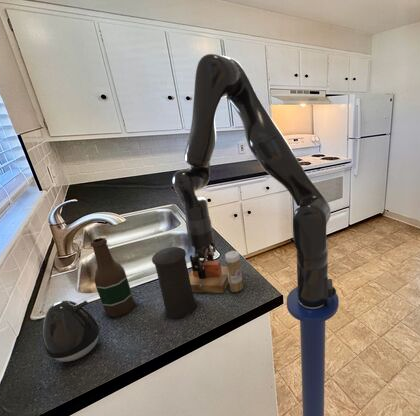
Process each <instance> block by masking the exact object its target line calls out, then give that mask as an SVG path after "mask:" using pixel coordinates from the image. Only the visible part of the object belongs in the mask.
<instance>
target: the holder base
mask: <svg viewBox="0 0 420 416" xmlns="http://www.w3.org/2000/svg"><path fill="white" fill-rule="evenodd" d="M221 271H222V273H221V275H220V277H206V278H205V279H199V277H194V276H193V271H192V270H191V271H190V272H188V274H189V278H190V283H191V287H192V292H193V293H211V294H212V293H215V294H217V293H219V294H223V293H224V292H225V290H226V288H227V286H228V285H229V280H228V273H227V265H226V266H224V265H221Z"/></svg>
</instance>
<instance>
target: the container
mask: <svg viewBox="0 0 420 416" xmlns="http://www.w3.org/2000/svg"><path fill="white" fill-rule="evenodd" d="M186 256H187V252H186V250H185V249H184V248H182V247H179V246H169V247H165V248H163V249H160V250H158V251H157V252H156V253H154V254H153V256H152V257H151V262H152V264H153V265H154V267H155V270H156V274H157V279H158V283H159V288H160V293H161V298H162V301H163V305H164V310H165V314H166V316H167V317H168V318H171V319H180V318H183V317H186V316H188V315H189V314H190V313H191V312H192V311H193V310H194V308H195V306H196V300H195V296H194V292H192V287H191V283H190V278H189V269H188V264H187V259H186Z"/></svg>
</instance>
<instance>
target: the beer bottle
mask: <svg viewBox="0 0 420 416" xmlns="http://www.w3.org/2000/svg"><path fill="white" fill-rule="evenodd" d="M90 247H91V248H92V249H93V252H94V253H93V254H94V256H95V257H94V258H95V260H96V261H95V262H96V266H97V267H96V269H95V271H94V285H95V288H96V291H97V294H98V296H99V299H100V301H101V304H102V307H103V310H104V312H105V314H106V317H112V318H118V317H121V316H124V315H126V314H128V313H130V312H131V310H133V309H134V308H135V301H134V300H135V299H134V296H133V292H132V288H131V286H130V283H129V280H128V277H127V273H126V270H125V268H124V267H123V265H121V263H118V262H117V261H116V260H115V259H114V257H113V256H112V253H111V251H110V248H109V246H108V240H107V238H105V237H98V238H95V239H92V240H91V242H90Z"/></svg>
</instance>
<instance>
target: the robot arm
mask: <svg viewBox="0 0 420 416" xmlns="http://www.w3.org/2000/svg"><path fill="white" fill-rule="evenodd" d="M194 77H195V78H194V92H193V104H192V115H191V117H192V118H191V125H190V130H189V135H188V139H187V142H186V145H185V151H184V155H183V158H184V160H185V162H186V163H187V164H188V165H190V167H187V168H184V169H181V170H177V171H176V172H175V173H174V174H173V176H172V181H171V183H172V187H173V189H174V191H175V194H176V195H177V197H178V200H179V201H180V203H181V205H182V208H183V213H184V218H185V228H186V232H187V238H188V242H189V243H188V244H189V245H190V246H192V247H193V248H194V254H191V255H189V260H190V261H189V262H190V266H191V265H192V266H191V270H192V269H193V271H198V276H199V279H205V278H206V273H205V269H204V267H205V262H206V261H215V260H214V257H215V253H217V252H216V251H217V247H216V241H215V237H214V233H213V226H212V220H211V217H210V211H209V206H208V201H207V199H206V197H203V196H197V195H196V191H198V190H201V189H203V188H205V187H206V186H207V185H208V183H209V181H210V178H211V159H212V157H213V155H214V154H213V153H214V150H215V147H216V142H217V129H216V121H215V120H216V115H217V110H218V106H219V104H220V103H221V100H222V98H226V99H227V100H228V101H229V103H230V104H231V105H232V107H233V108H234V110H235V111H236V113H237V114H238V116H239V118H240V121H241V123H242V126H243V131H244V135H245V140H246V143H247V145H248V148H249V150H250V152H251V153H252V155H253V157H254V158H255V159H256V161H257V162H258V163H259V165H260V166H261V168H262V169H263V170H264V172H266V173H267V174H268V175H269V176H270V177H272V179H274V180H275V181H277V182H278V183H279V184H281V185H282V186H283V187H284V188H285V190H287V192H288V193H289V194H290V196H291V197H292V199H293V201H294V202H295V204H296V206H297V207H296V208H295V210H294V211H293V216H292V234H293V244H294V247H295V251H296V278H297V279H296V283H297V286H298V288H297V291H298V303H299V305H300V306H302V307H303V308H305V309H309V310H317V309H320V308H322V307H327V303H328V297H332V296H333V295H334V294H335V293H336V294H337V290H336V288H335V287H334V286H333V279H332V278H329V243H328V242H327V225H328V223H329V220H330V218H331V214H332V213H331V207H330V204H329V202H328V201H327V200H326V198H325V197H324V196H323V194H322V193H321V192H320V190H319V189H318V188H317V187H316V186H315V184H314V183H313V181H311V179H310V178H309V176H308V175H307V173H306V172H305V170H304V168H303V166H302V164H301V163H300V162H299V159H298V158H297V156H296V155H295V153H294V152H293V150H292V148H291V146H290V145H289V143H288V142H287V140H286V138H285V137H284V135H283V133H282V132H281V130H280V129H279V128H278V126H277V124H276V123H275V121H274V120H273V119H272V117H271V115H270V114H269V112H268V111H267V110H266V108H265V106H264V105H263V104H262V102H261V100H260V98H259V97H258V95H257V93H256V90H255V89H254V87H253V85H252V82H251V81H250V79H249V77H248V74H247V73H246V71H245V70H244V68H243V67H242V65H241V63H240V62H239V61H237V60H235V59H234V58H232V57H229V56H225V55H221V54H215V53H207V54H205V55H203V56H202V57H201V58H200V60H199V61H198V63H197V65H196V69H195V76H194ZM200 262H201V263H202V266H201V263H200ZM195 266H196V267H195Z"/></svg>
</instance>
